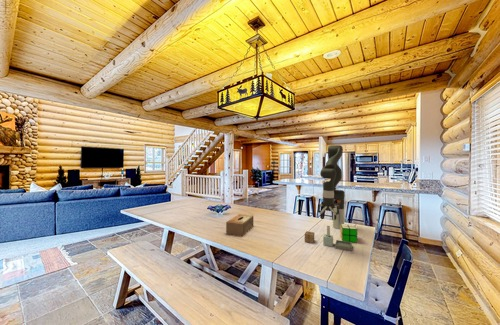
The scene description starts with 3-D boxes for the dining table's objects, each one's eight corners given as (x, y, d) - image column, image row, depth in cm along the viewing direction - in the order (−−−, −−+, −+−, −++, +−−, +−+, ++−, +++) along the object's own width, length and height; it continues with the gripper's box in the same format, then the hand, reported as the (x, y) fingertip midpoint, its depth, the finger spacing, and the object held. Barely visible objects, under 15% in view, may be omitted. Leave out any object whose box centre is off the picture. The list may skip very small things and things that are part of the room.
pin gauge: (326, 242, 145) (327, 225, 145) (329, 242, 144) (330, 225, 144) (326, 243, 144) (326, 226, 144) (329, 243, 143) (329, 226, 143)
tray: (336, 242, 146) (336, 239, 146) (351, 245, 142) (351, 242, 142) (335, 248, 137) (335, 245, 137) (351, 251, 133) (351, 248, 133)
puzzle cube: (354, 237, 156) (354, 224, 156) (357, 242, 146) (357, 229, 146) (340, 236, 159) (340, 223, 159) (342, 241, 149) (342, 227, 149)
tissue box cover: (242, 236, 160) (242, 224, 160) (226, 234, 165) (226, 222, 165) (253, 226, 184) (253, 215, 184) (239, 224, 189) (238, 213, 189)
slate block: (324, 241, 148) (324, 233, 148) (333, 243, 145) (333, 235, 145) (323, 245, 143) (323, 236, 143) (332, 246, 140) (332, 238, 140)
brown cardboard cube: (306, 238, 154) (306, 231, 154) (314, 240, 151) (314, 232, 151) (304, 241, 148) (304, 233, 148) (313, 243, 146) (313, 235, 146)
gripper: (339, 196, 144) (339, 218, 144) (318, 194, 150) (318, 216, 150) (339, 198, 137) (338, 222, 137) (317, 196, 143) (317, 219, 144)
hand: (328, 219), depth 144 cm, fingers open, 8 cm apart
